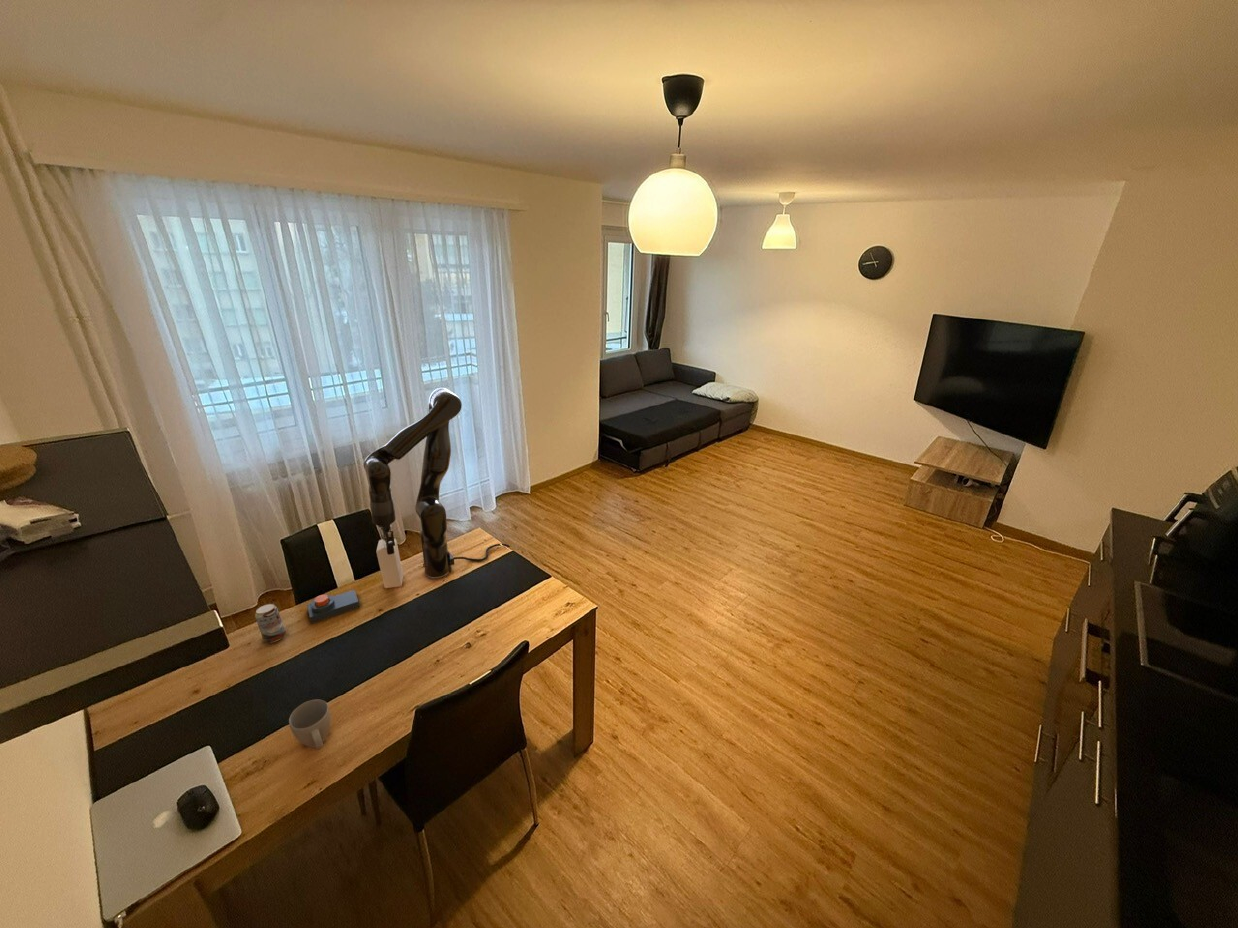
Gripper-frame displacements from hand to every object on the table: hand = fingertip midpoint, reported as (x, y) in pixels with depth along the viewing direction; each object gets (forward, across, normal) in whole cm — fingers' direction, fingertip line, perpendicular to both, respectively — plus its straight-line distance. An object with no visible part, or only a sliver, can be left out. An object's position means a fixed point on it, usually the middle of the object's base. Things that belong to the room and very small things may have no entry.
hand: (388, 547), depth 176 cm
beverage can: (+19, -6, +38) cm, 43 cm away
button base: (+18, -2, +20) cm, 27 cm away
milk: (+18, +3, -1) cm, 18 cm away
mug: (+19, -54, +31) cm, 65 cm away
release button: (+14, -2, +23) cm, 27 cm away
